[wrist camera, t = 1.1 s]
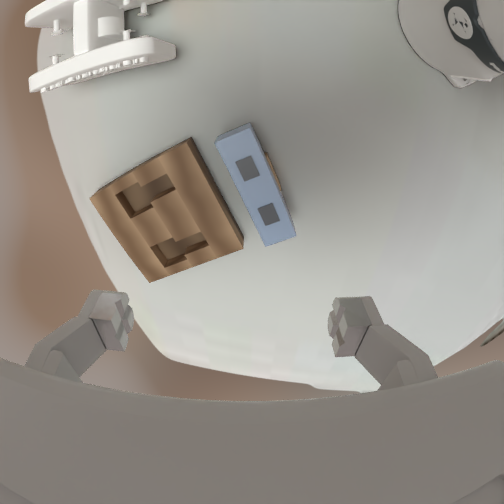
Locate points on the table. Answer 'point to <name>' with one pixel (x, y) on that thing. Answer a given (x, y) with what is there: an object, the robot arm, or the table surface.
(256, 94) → the table surface
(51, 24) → the cable organizer
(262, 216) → the strip
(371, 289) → the table surface
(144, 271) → the board
